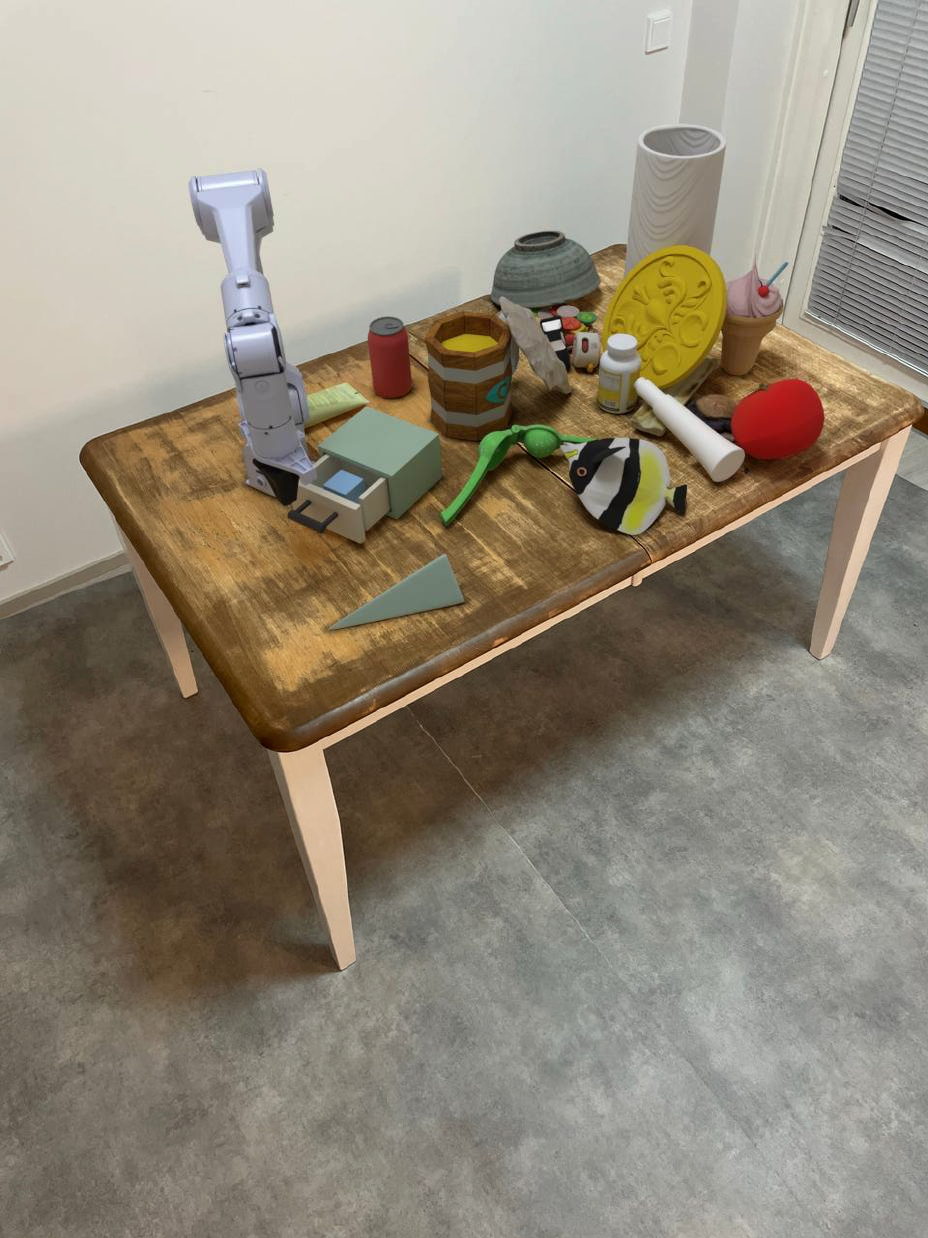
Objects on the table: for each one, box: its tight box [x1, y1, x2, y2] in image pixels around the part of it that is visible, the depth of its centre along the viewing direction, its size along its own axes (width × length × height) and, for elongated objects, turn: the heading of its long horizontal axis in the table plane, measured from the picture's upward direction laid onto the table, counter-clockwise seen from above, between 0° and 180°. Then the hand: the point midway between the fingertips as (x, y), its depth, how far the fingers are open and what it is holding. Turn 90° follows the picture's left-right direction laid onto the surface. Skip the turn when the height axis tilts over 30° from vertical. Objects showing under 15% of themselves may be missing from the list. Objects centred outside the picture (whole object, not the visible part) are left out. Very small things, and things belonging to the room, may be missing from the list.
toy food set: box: [530, 303, 598, 351], centre depth 173 cm, size 13×13×3 cm
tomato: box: [731, 378, 825, 460], centre depth 145 cm, size 12×14×11 cm
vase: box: [623, 123, 727, 279], centre depth 165 cm, size 14×14×32 cm
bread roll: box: [685, 393, 738, 443], centre depth 154 cm, size 11×8×4 cm
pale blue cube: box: [323, 470, 365, 505], centre depth 140 cm, size 4×4×4 cm
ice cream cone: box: [720, 254, 789, 376], centre depth 158 cm, size 11×11×20 cm
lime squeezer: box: [439, 424, 598, 527], centre depth 145 cm, size 34×12×6 cm, turn 115°
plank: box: [629, 357, 720, 437], centre depth 159 cm, size 23×6×3 cm, turn 148°
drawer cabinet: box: [317, 406, 443, 521], centre depth 144 cm, size 12×14×8 cm
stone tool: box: [499, 297, 573, 395], centre depth 152 cm, size 12×4×25 cm
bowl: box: [490, 230, 602, 309], centre depth 180 cm, size 21×21×10 cm
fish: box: [560, 437, 688, 536], centre depth 139 cm, size 12×20×15 cm
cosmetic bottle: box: [634, 377, 746, 483], centre depth 148 cm, size 6×6×22 cm
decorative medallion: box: [601, 245, 727, 390], centre depth 157 cm, size 24×24×2 cm
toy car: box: [540, 316, 571, 371], centre depth 167 cm, size 10×4×3 cm
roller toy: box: [571, 332, 601, 373], centre depth 165 cm, size 4×6×6 cm
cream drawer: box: [286, 453, 391, 544], centre depth 139 cm, size 15×12×6 cm
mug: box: [424, 310, 520, 442], centre depth 154 cm, size 20×14×15 cm
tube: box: [302, 381, 371, 429], centre depth 158 cm, size 6×5×20 cm
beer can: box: [367, 315, 413, 399], centre depth 160 cm, size 7×7×12 cm
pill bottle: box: [596, 334, 641, 415], centre depth 155 cm, size 6×6×12 cm
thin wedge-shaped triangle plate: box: [328, 553, 465, 631], centre depth 128 cm, size 8×6×18 cm
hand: (288, 500), depth 129 cm, fingers closed
